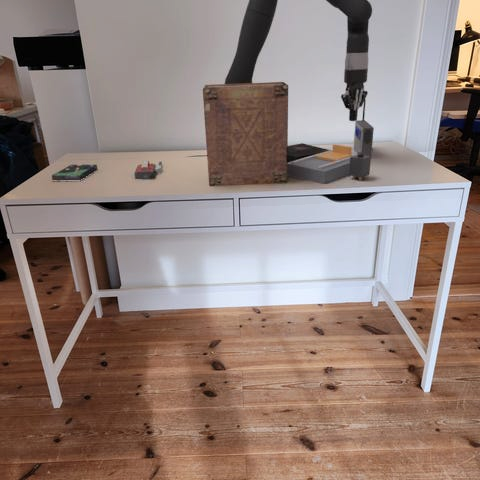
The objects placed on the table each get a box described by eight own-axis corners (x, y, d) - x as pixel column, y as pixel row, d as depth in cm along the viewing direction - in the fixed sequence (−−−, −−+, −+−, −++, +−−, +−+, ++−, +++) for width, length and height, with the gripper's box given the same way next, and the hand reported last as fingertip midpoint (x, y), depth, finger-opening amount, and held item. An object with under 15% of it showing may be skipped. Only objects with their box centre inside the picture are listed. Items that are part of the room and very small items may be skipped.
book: (208, 186, 141) (201, 87, 128) (209, 178, 149) (203, 84, 137) (287, 183, 141) (288, 84, 128) (284, 175, 149) (284, 81, 137)
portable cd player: (300, 152, 180) (301, 143, 178) (330, 160, 167) (330, 150, 165) (268, 159, 172) (268, 149, 170) (296, 168, 159) (296, 157, 157)
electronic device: (353, 148, 181) (356, 98, 173) (369, 148, 181) (374, 97, 172) (360, 159, 165) (365, 104, 157) (379, 158, 165) (384, 103, 157)
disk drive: (72, 171, 166) (52, 182, 152) (70, 164, 165) (50, 175, 151) (98, 171, 164) (80, 182, 151) (97, 164, 163) (79, 174, 150)
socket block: (285, 174, 149) (285, 160, 147) (325, 162, 163) (325, 149, 161) (323, 183, 138) (324, 169, 136) (362, 169, 152) (363, 155, 150)
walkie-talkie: (160, 180, 150) (163, 165, 168) (158, 168, 148) (162, 154, 166) (134, 182, 149) (140, 167, 167) (132, 169, 147) (139, 155, 166)
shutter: (315, 158, 152) (315, 148, 151) (332, 153, 158) (332, 143, 157) (336, 162, 146) (337, 152, 145) (353, 156, 152) (354, 147, 151)
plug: (348, 178, 142) (350, 153, 139) (356, 175, 145) (358, 150, 142) (361, 181, 139) (363, 155, 136) (369, 178, 142) (371, 152, 139)
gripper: (357, 66, 153) (354, 117, 160) (335, 68, 145) (332, 122, 152) (377, 66, 148) (372, 119, 155) (354, 69, 140) (351, 124, 147)
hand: (352, 120), depth 153 cm, fingers closed
